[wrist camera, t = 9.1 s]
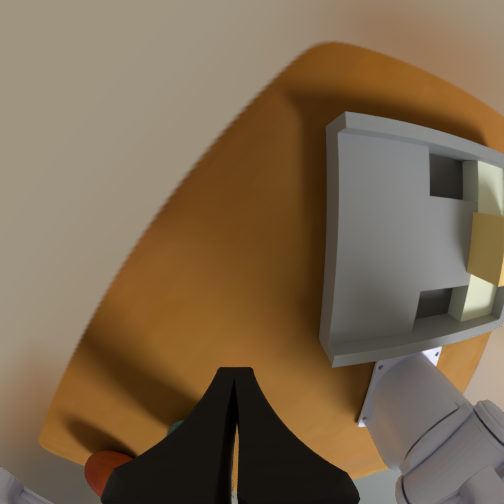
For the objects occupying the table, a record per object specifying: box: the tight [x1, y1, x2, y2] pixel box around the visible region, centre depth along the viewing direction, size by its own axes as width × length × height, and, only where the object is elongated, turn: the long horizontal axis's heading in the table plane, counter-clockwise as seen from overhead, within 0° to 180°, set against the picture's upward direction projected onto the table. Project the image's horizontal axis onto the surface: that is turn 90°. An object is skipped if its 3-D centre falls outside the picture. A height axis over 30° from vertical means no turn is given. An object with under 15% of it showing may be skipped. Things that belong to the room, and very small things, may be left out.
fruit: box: [84, 450, 133, 497], centre depth 20 cm, size 9×9×8 cm
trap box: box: [319, 111, 504, 368], centre depth 17 cm, size 16×19×4 cm
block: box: [467, 212, 504, 287], centre depth 15 cm, size 5×5×4 cm
